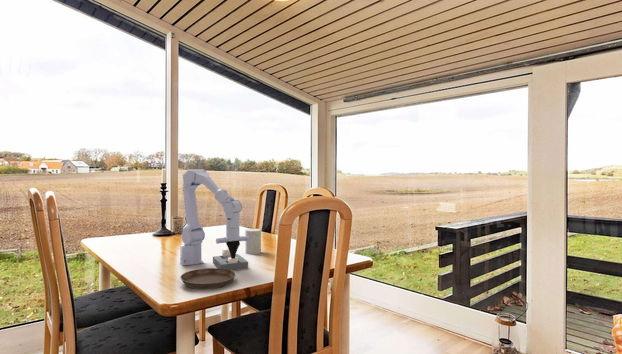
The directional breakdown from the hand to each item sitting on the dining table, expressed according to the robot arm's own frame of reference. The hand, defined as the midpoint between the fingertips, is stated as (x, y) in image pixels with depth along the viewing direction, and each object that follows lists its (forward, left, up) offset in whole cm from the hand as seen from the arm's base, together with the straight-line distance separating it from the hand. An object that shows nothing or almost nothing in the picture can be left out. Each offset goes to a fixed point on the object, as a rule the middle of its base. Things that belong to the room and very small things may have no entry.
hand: (232, 258), depth 166 cm
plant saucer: (-14, -16, -5) cm, 22 cm away
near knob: (0, 0, -4) cm, 4 cm away
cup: (+18, +26, -5) cm, 32 cm away
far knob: (0, +10, -2) cm, 10 cm away
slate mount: (0, +5, -4) cm, 7 cm away
